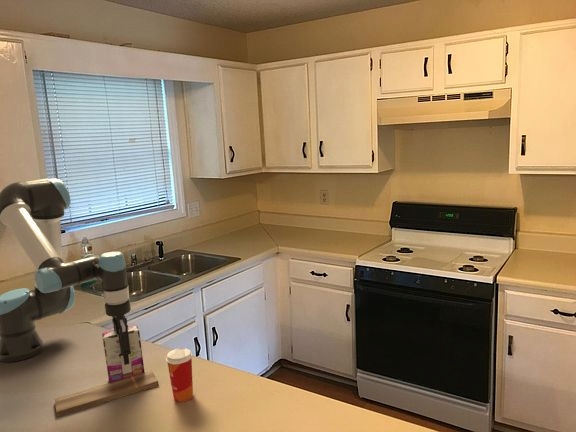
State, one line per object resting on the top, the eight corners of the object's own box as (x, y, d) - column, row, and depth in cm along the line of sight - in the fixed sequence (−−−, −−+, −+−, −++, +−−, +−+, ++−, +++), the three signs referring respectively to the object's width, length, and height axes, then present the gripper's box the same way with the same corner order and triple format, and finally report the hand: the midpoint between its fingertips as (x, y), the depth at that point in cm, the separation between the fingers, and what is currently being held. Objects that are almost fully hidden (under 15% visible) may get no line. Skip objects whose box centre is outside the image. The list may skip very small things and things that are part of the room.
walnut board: (55, 403, 141) (54, 398, 141) (152, 374, 155) (151, 370, 154) (57, 416, 134) (56, 411, 134) (158, 385, 148) (158, 380, 148)
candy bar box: (142, 369, 158) (137, 324, 155) (145, 376, 154) (140, 329, 151) (107, 378, 153) (101, 332, 150) (109, 386, 149) (102, 337, 146)
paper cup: (174, 390, 145) (169, 347, 142) (198, 389, 144) (194, 346, 142) (166, 404, 137) (161, 360, 134) (193, 404, 137) (188, 359, 134)
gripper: (100, 295, 155) (108, 360, 159) (109, 312, 139) (118, 384, 143) (123, 290, 158) (131, 354, 163) (135, 306, 143) (143, 377, 147)
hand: (125, 368), depth 153 cm, fingers closed on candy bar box, 5 cm apart
